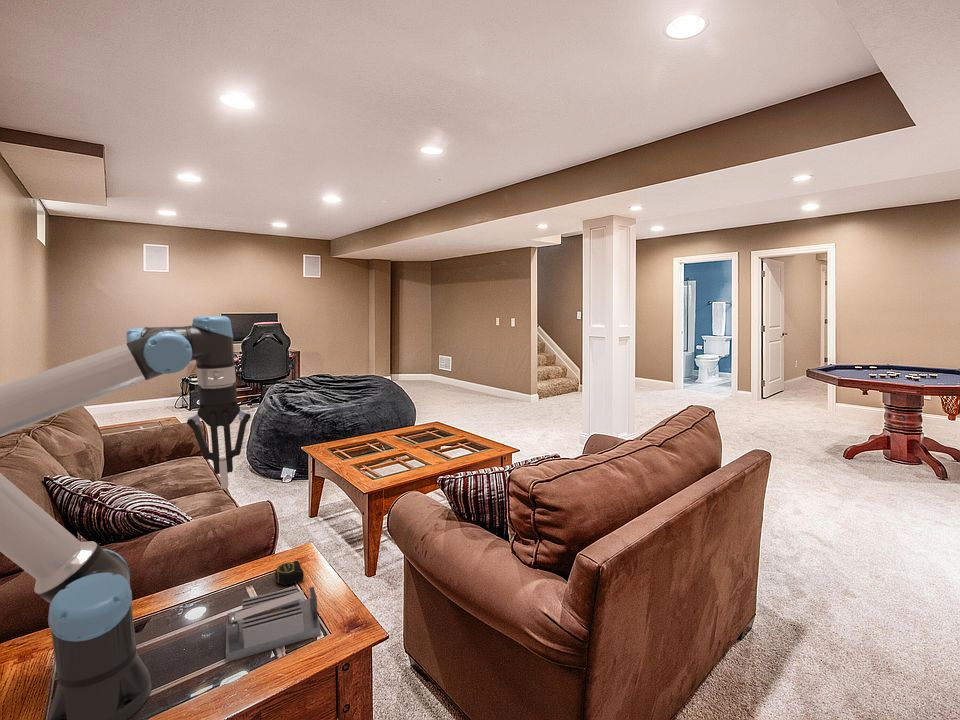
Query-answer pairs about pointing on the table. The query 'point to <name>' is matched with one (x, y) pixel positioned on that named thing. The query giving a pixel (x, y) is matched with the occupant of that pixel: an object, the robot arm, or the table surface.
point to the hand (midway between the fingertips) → (224, 486)
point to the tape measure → (289, 573)
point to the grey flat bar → (266, 607)
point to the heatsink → (272, 625)
